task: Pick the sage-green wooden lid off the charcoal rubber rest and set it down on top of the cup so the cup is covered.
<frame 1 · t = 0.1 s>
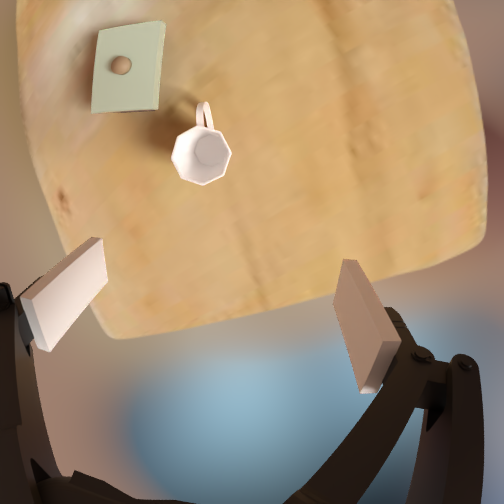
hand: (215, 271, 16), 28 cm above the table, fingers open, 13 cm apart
lid: (129, 68, 32), point 4 cm above the table, touching rest
cup: (212, 139, 40), on the table
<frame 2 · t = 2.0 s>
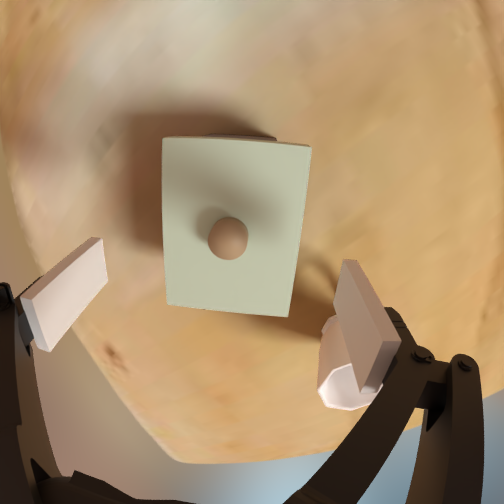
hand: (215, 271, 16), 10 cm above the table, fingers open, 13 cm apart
lid: (233, 224, 21), point 4 cm above the table, touching rest
cup: (343, 315, 29), on the table
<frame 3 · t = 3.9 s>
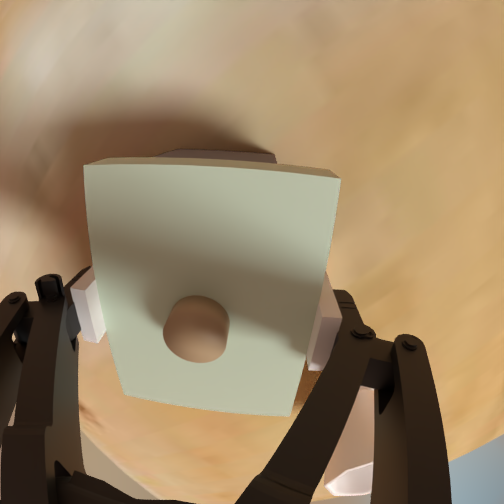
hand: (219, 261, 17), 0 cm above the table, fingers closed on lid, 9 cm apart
lid: (208, 294, 14), point 4 cm above the table, touching gripper, rest
cup: (358, 382, 21), on the table
rest: (220, 257, 17), on the table
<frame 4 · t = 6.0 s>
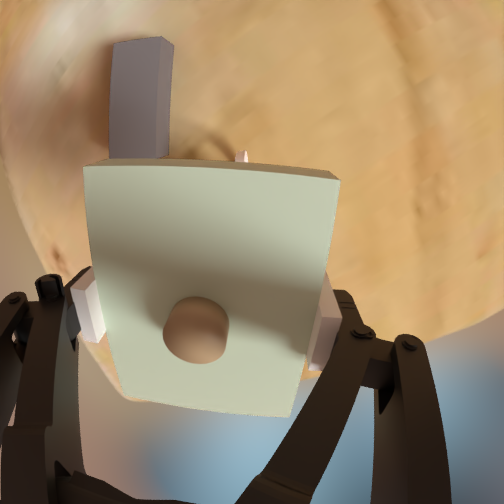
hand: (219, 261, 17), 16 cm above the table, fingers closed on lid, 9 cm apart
lid: (207, 295, 14), point 19 cm above the table, touching gripper
rest: (147, 99, 27), on the table
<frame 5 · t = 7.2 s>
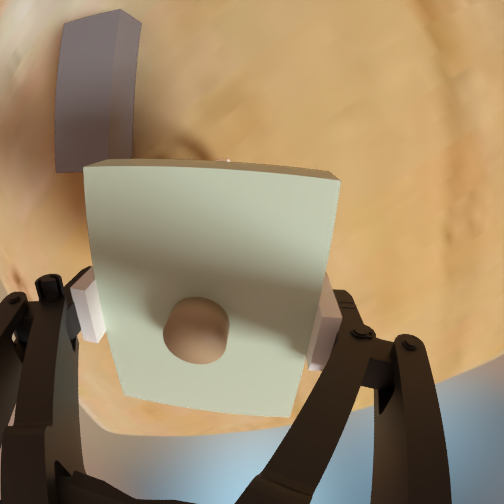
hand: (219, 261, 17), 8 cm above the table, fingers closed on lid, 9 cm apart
lid: (208, 296, 14), point 11 cm above the table, touching gripper
rest: (107, 93, 20), on the table
when the fingers open (7 cm above the table, at t = 8.2 s): lid drops 2 cm, resting on cup.
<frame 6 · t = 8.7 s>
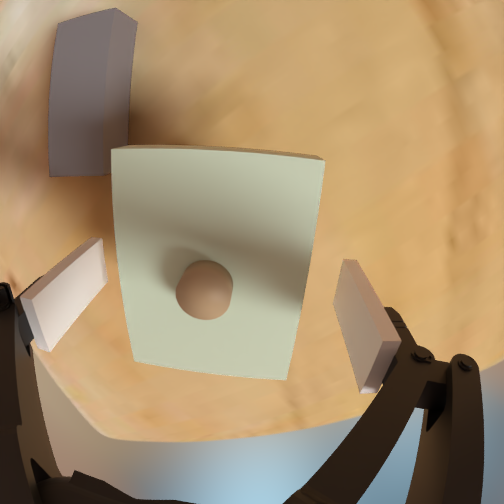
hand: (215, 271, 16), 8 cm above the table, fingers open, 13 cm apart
lid: (213, 264, 16), point 8 cm above the table, touching cup
rest: (102, 94, 19), on the table
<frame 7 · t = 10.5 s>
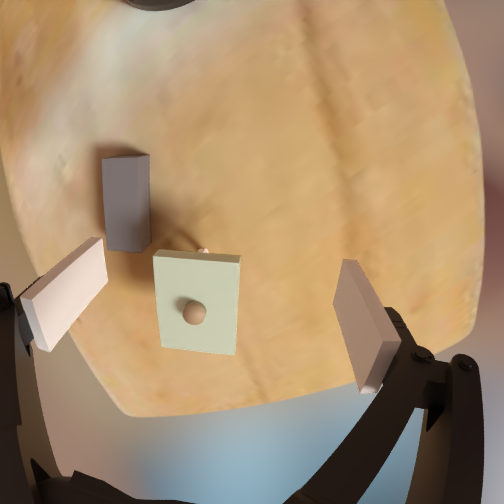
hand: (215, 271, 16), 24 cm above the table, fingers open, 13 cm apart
lid: (198, 300, 35), point 8 cm above the table, touching cup
rest: (133, 199, 39), on the table
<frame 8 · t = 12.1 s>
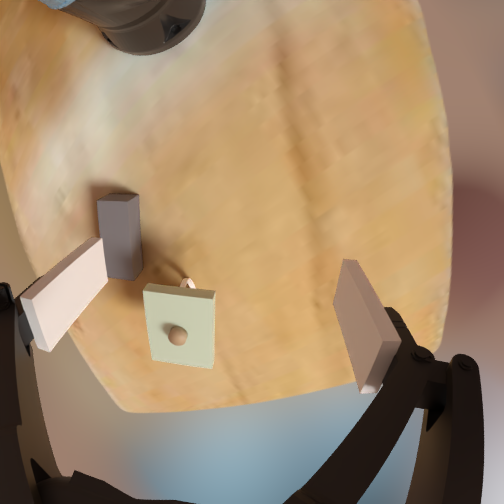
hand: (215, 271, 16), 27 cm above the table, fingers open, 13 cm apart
lid: (182, 324, 40), point 8 cm above the table, touching cup
rest: (126, 232, 44), on the table
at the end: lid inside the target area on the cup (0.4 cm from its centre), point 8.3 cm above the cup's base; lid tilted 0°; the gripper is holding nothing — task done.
